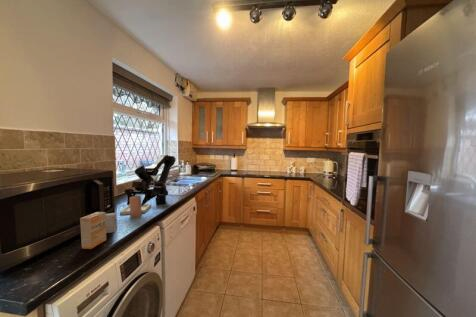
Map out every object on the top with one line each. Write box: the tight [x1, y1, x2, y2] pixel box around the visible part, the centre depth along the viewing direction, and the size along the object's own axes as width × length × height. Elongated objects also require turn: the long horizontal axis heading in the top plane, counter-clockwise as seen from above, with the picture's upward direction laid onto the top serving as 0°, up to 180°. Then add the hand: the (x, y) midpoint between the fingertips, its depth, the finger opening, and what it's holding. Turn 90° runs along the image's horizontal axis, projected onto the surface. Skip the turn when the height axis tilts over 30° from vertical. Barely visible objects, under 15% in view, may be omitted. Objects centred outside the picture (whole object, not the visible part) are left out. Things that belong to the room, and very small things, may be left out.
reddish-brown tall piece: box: [129, 195, 143, 220], centre depth 119 cm, size 6×6×12 cm
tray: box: [119, 203, 152, 216], centre depth 132 cm, size 15×15×2 cm
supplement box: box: [79, 211, 107, 250], centre depth 86 cm, size 8×5×13 cm, turn 172°
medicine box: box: [105, 212, 118, 234], centre depth 99 cm, size 8×4×9 cm, turn 108°
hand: (134, 205), depth 118 cm, fingers open, 9 cm apart
